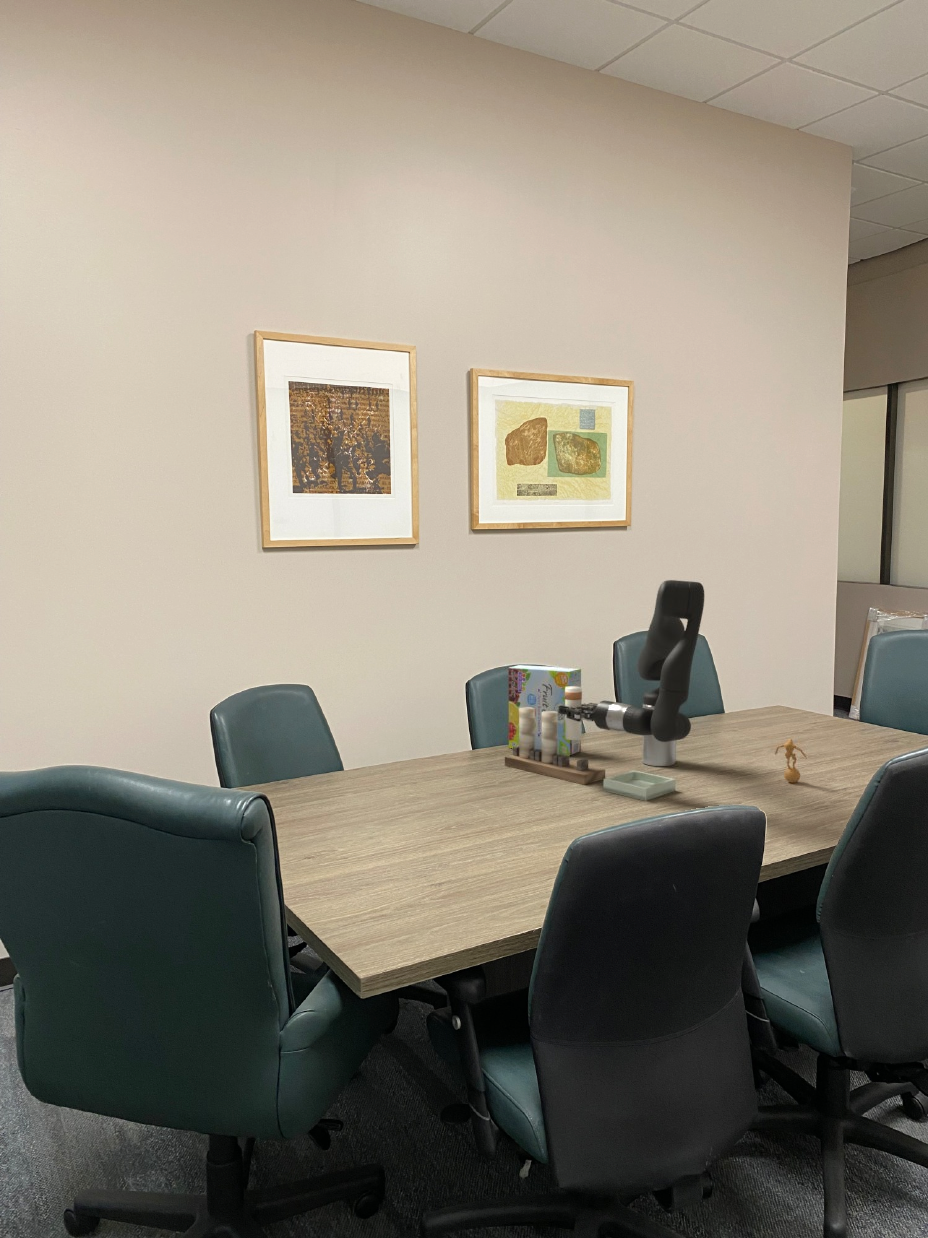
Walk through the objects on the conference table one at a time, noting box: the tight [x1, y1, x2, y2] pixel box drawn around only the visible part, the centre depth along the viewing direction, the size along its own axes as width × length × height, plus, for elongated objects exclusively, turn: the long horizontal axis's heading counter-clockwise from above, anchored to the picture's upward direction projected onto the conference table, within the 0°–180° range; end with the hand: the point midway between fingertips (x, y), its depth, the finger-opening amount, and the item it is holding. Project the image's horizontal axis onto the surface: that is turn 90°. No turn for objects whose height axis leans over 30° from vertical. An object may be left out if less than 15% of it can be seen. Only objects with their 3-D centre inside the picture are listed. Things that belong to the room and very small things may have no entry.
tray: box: [602, 769, 676, 802], centre depth 225 cm, size 13×13×3 cm
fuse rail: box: [504, 707, 606, 785], centre depth 244 cm, size 9×29×16 cm, turn 44°
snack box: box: [508, 664, 582, 756], centre depth 269 cm, size 22×9×26 cm, turn 58°
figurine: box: [774, 738, 808, 784], centre depth 230 cm, size 8×6×12 cm
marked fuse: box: [565, 686, 583, 740], centre depth 238 cm, size 5×5×14 cm
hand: (565, 708), depth 240 cm, fingers closed on marked fuse, 4 cm apart
